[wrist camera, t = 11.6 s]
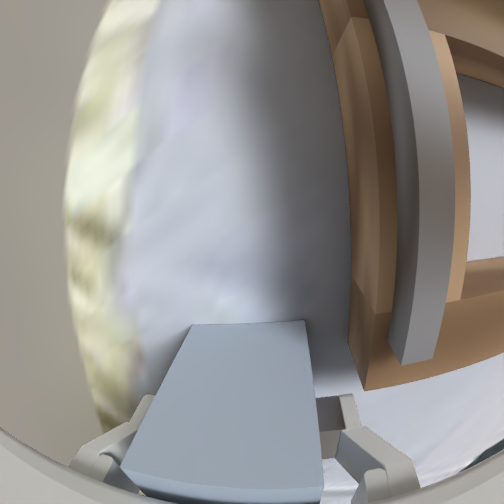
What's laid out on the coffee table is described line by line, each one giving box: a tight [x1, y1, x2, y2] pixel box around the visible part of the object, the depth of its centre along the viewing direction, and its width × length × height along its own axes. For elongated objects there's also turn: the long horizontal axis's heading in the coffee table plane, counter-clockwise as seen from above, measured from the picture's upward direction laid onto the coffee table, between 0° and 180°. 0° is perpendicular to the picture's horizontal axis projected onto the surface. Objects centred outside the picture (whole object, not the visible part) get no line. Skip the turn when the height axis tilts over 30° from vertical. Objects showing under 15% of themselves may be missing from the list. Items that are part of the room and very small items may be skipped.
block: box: [120, 320, 324, 504], centre depth 8 cm, size 4×4×7 cm
